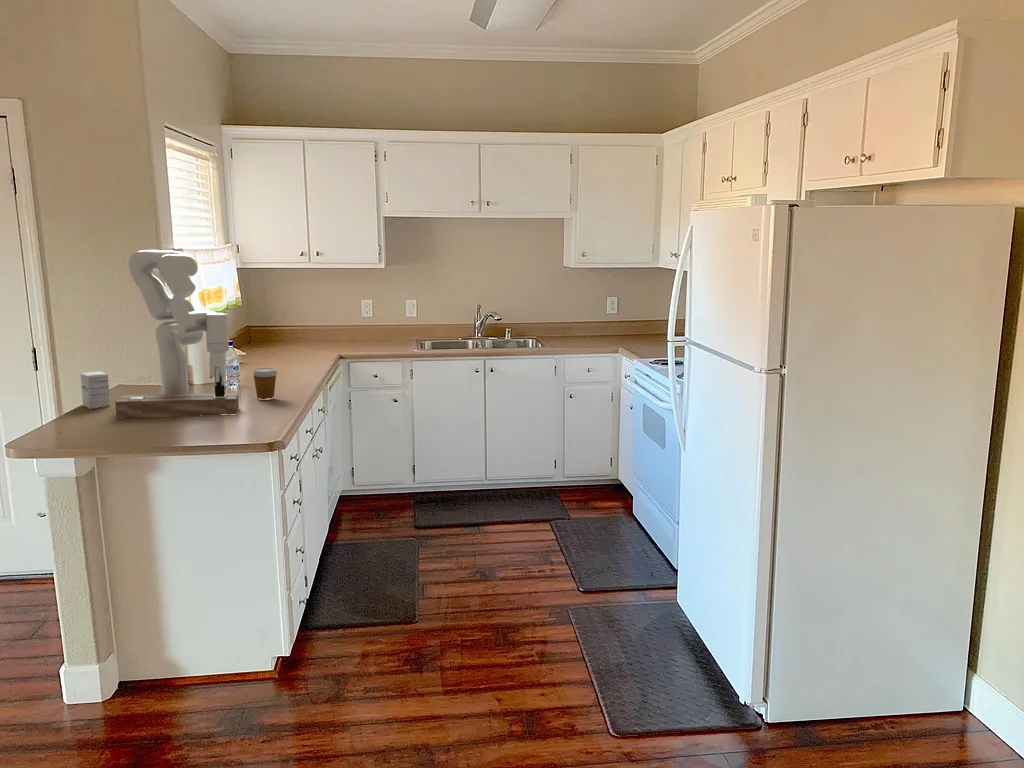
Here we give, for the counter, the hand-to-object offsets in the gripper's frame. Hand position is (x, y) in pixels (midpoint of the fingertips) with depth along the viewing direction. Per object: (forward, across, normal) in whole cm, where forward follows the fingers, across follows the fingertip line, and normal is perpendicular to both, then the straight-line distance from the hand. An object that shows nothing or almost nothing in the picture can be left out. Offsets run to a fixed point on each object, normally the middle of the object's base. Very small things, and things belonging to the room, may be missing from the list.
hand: (219, 396), depth 280 cm
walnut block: (+6, -1, -14) cm, 15 cm away
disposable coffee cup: (+6, -22, +15) cm, 27 cm away
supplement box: (+6, -16, -45) cm, 49 cm away
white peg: (+6, 0, 0) cm, 6 cm away
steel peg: (+6, 0, -28) cm, 29 cm away
